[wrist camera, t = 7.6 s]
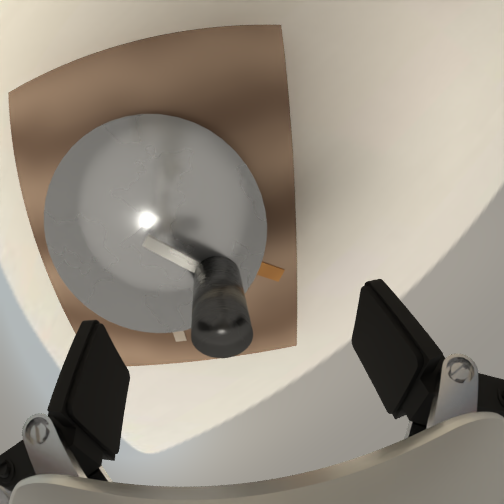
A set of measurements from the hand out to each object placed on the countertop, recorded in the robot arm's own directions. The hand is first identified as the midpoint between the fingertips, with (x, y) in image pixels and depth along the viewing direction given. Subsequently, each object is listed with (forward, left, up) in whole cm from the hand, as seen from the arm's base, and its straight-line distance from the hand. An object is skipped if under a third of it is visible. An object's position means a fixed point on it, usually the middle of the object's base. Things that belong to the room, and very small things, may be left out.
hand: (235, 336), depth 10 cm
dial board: (-2, -4, -10) cm, 11 cm away
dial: (-2, -4, -8) cm, 9 cm away
